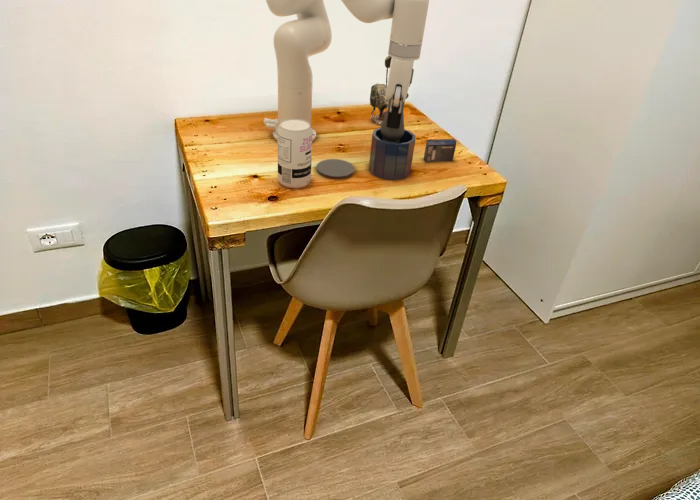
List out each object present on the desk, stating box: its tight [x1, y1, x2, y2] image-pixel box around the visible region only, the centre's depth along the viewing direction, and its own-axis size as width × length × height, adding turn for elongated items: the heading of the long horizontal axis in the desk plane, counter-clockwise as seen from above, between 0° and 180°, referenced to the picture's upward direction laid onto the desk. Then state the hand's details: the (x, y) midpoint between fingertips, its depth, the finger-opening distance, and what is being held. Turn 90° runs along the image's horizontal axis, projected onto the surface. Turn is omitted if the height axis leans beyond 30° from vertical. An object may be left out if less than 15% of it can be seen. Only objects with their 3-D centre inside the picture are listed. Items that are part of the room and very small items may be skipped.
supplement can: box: [277, 119, 313, 189], centre depth 127 cm, size 8×8×15 cm
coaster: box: [315, 158, 356, 180], centre depth 138 cm, size 10×10×1 cm
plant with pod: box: [369, 55, 392, 126], centre depth 162 cm, size 8×11×20 cm
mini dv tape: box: [423, 138, 457, 163], centre depth 146 cm, size 8×2×6 cm, turn 103°
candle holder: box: [380, 68, 415, 143], centre depth 132 cm, size 6×6×25 cm
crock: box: [368, 126, 417, 181], centre depth 137 cm, size 11×11×10 cm
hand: (393, 122), depth 133 cm, fingers closed on candle holder, 4 cm apart
